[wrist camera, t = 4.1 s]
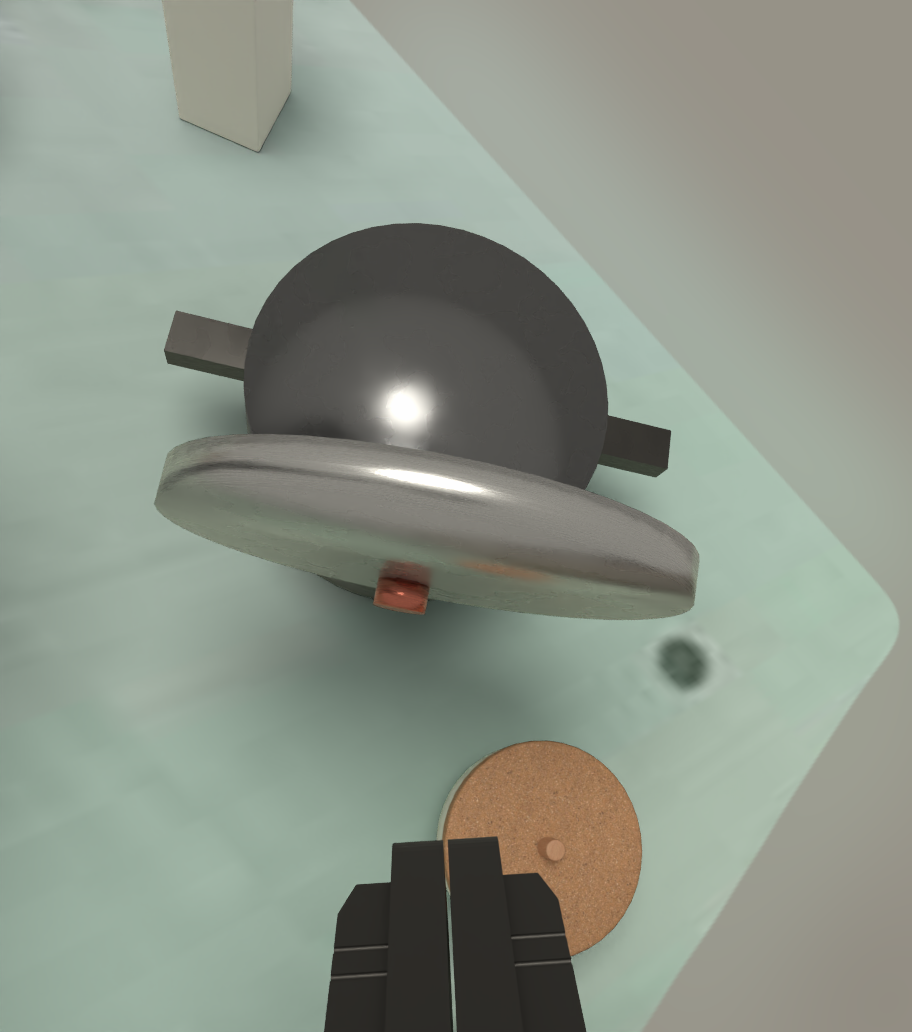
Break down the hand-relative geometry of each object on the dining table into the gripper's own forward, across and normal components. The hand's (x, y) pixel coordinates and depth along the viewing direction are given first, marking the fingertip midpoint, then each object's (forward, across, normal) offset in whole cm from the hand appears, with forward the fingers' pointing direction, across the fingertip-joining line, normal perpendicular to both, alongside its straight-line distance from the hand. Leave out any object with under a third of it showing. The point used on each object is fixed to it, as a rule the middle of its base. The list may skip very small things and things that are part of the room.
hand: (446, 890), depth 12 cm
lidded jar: (+33, -4, +26) cm, 42 cm away
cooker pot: (+46, +2, +5) cm, 46 cm away
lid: (+22, 0, +2) cm, 22 cm away
